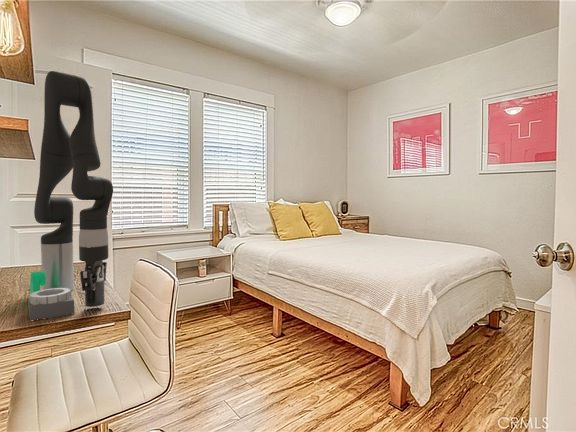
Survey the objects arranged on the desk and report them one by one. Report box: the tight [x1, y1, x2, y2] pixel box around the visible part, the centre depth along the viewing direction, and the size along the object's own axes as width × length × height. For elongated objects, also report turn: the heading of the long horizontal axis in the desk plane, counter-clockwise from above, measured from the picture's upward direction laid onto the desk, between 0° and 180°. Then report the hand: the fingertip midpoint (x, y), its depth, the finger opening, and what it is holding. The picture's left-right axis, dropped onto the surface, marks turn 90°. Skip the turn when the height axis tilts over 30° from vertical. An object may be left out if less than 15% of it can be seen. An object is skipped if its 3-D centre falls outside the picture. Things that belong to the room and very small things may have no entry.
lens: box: [84, 277, 105, 308], centre depth 99 cm, size 5×5×8 cm
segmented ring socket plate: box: [27, 288, 75, 322], centre depth 96 cm, size 10×10×6 cm
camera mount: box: [29, 270, 46, 295], centre depth 105 cm, size 12×8×10 cm, turn 43°
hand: (94, 299), depth 100 cm, fingers closed on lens, 5 cm apart
